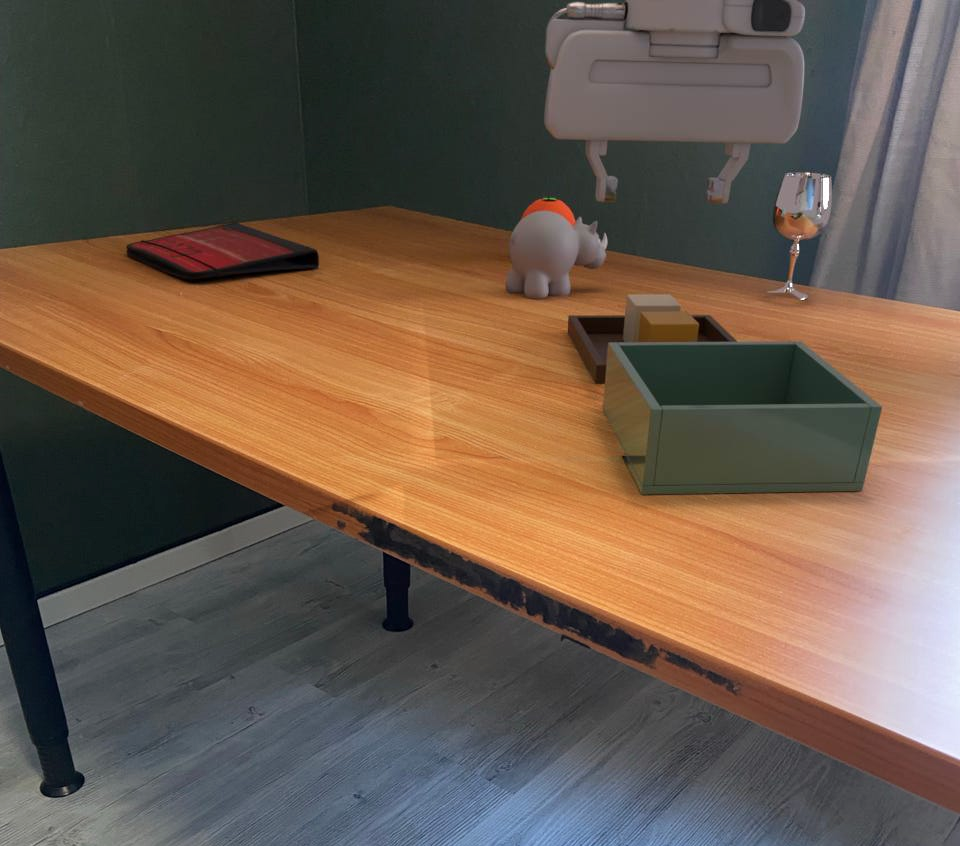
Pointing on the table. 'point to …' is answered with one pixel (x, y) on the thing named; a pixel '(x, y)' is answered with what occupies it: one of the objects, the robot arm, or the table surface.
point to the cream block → (644, 304)
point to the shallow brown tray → (602, 329)
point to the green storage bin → (737, 418)
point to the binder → (222, 252)
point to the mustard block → (667, 327)
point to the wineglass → (801, 214)
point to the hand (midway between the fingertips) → (661, 201)
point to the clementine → (551, 208)
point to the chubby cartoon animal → (551, 253)
